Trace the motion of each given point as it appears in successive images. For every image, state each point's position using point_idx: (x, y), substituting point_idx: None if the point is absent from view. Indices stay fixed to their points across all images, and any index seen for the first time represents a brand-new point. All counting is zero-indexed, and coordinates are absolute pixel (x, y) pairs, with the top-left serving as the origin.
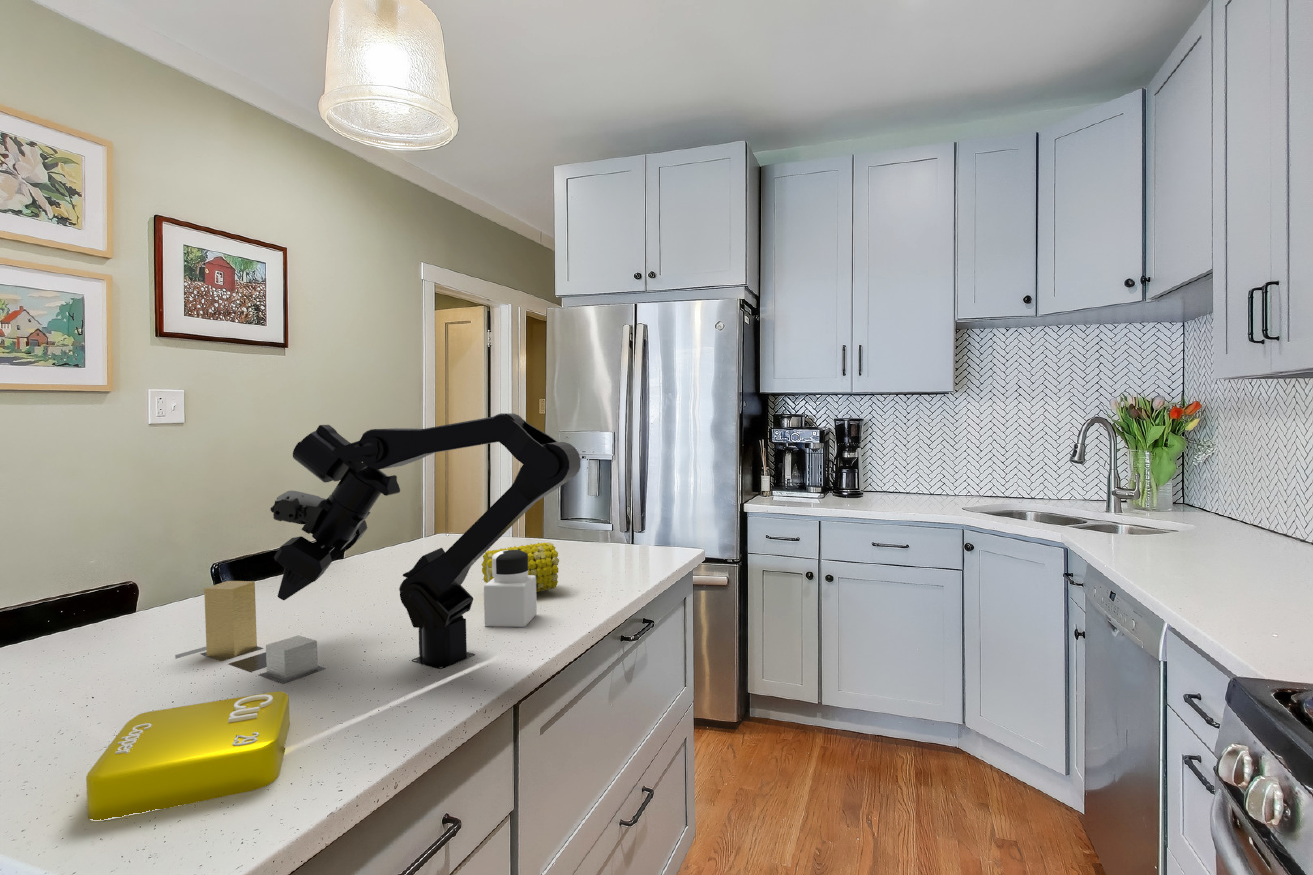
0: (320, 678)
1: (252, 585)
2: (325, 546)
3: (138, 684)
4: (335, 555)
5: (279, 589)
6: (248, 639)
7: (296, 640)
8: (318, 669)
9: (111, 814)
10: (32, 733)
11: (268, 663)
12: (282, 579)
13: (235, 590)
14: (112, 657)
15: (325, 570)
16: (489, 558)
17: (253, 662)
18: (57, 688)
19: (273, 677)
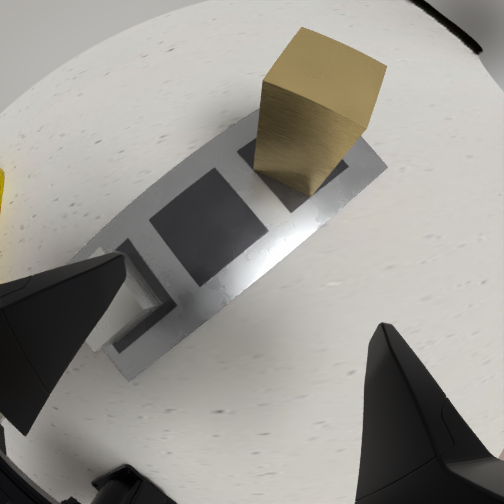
0: None
1: (352, 128)
2: (403, 473)
3: (195, 73)
4: (361, 483)
5: (82, 261)
6: (292, 178)
7: (107, 309)
8: (117, 341)
9: None
10: (92, 54)
11: None
12: (31, 277)
13: (273, 90)
14: (331, 31)
15: (3, 440)
16: None
17: (201, 212)
18: (226, 14)
19: None
